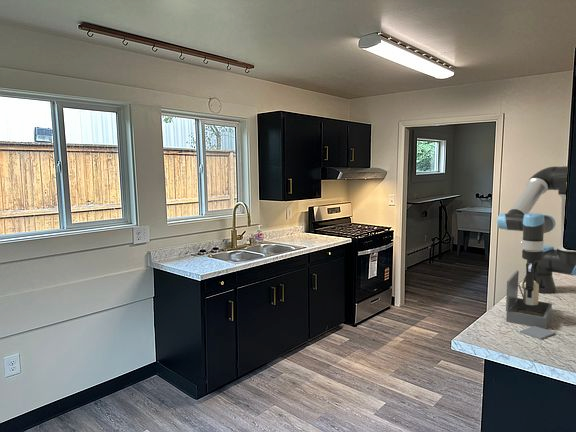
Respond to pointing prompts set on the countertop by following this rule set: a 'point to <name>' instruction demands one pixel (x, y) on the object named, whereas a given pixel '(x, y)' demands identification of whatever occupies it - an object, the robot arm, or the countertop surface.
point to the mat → (537, 332)
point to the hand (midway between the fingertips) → (530, 302)
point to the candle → (536, 293)
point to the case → (524, 306)
